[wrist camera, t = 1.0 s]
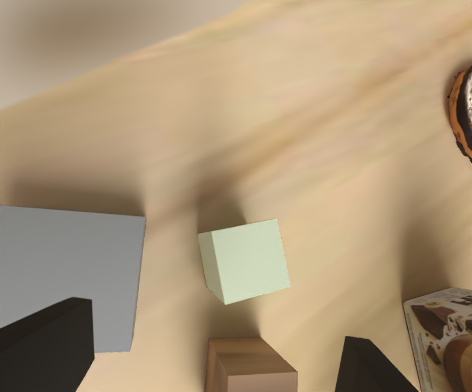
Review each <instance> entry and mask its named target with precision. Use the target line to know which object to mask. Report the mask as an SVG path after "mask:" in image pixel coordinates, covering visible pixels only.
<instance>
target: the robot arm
mask: <svg viewBox="0 0 472 392" xmlns="http://www.w3.org/2000/svg"><path fill="white" fill-rule="evenodd" d="M94 359H95V357H94V333H93V309H92V299H85V298H78V297H70V298H68V299H65V300H63V301H60V302H58V303H55V304H53V305H51V306H48V307H46V308H44V309H42V310H39V311H37V312H35V313H33V314H31V315H28V316H26V317H24V318H22V319H20V320H17V321H15V322H13V323H11V324H9V325H6V326H4V327H2V328H0V392H76V390H77V388H78V387H79V385H80V383H81V382H82V380H83V378H84V377H85V375H86V373H87V371H88V370H89V368H90V366H91V364H92V362H93V361H94ZM335 392H419V391H418V390H417V389H416V388H415V387H414V386H413V385H412V384H411V383H410V382H409V381H408V380H407V379H406V378H405V377H404V376H403V374H402V373H401V372H400V371H399V370H398V369H397V368H396V367H395V366H394V365H393V364H392V363H391V362H390V361H389V359H388V358H387V357H386V356H385V355H384V354H383V353H382V352H381V351H380V350H379V349H378V348H377V347H376V346H375V345H374V344H373V343H372V342H371V341H370V340H369V339H363V338H356V337H350V336H346V337H345V342H344V347H343V352H342V357H341V363H340V368H339V373H338V378H337V383H336V388H335Z"/></svg>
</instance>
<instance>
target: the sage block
mask: <svg viewBox="0 0 472 392" xmlns="http://www.w3.org/2000/svg"><path fill="white" fill-rule="evenodd" d="M197 236H198V242H199V247H200V253H201V258H202V264H203V269H204V275H205V280H206V286H207V288H208V289H209V290H210V291H211V292H212V293H213V294H214V295H215V296H216V297H217V298H218V299H219V300H220V301H221V302H223V303H224V304H225V305H227V304H230V303H234V302H237V301H241V300H245V299H248V298H252V297H255V296H259V295H263V294H266V293H270V292H273V291H277V290H281V289H284V288H288V287H291V284H290V279H289V274H288V270H287V265H286V260H285V255H284V250H283V246H282V241H281V236H280V231H279V227H278V222H277V219H272V220H267V221H261V222H256V223H250V224H245V225H240V226H235V227H229V228H224V229H219V230H214V231H209V232H204V233H199V234H197Z"/></svg>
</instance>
